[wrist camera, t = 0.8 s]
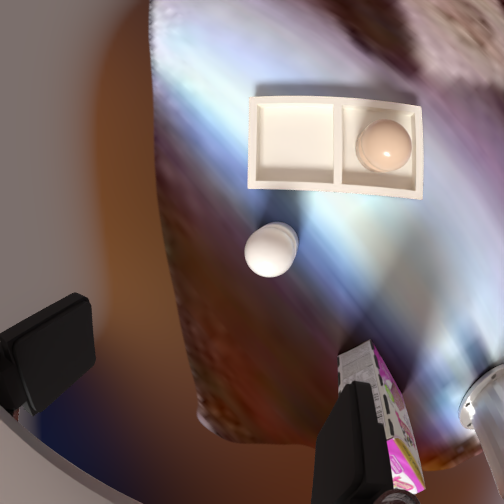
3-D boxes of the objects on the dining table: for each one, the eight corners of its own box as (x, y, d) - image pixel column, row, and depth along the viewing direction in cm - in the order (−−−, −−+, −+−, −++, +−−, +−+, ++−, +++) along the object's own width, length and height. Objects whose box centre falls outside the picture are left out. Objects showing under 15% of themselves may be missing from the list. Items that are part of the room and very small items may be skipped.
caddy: (415, 111, 25) (421, 106, 23) (416, 199, 27) (422, 199, 25) (253, 102, 29) (249, 97, 27) (252, 188, 31) (247, 188, 29)
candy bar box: (404, 393, 31) (427, 490, 16) (371, 409, 33) (380, 507, 17) (372, 334, 31) (395, 438, 15) (335, 354, 32) (333, 462, 17)
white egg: (299, 222, 30) (293, 232, 24) (297, 265, 31) (290, 286, 25) (256, 220, 31) (238, 229, 25) (255, 262, 32) (238, 281, 26)
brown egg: (397, 130, 25) (417, 117, 19) (398, 174, 26) (419, 172, 20) (354, 127, 26) (363, 111, 20) (355, 171, 27) (365, 167, 21)
